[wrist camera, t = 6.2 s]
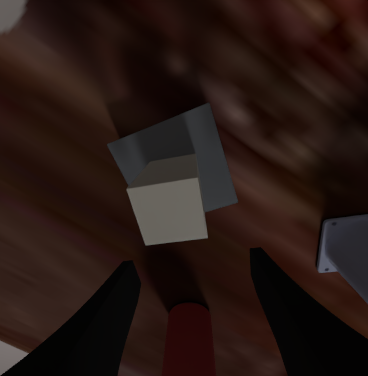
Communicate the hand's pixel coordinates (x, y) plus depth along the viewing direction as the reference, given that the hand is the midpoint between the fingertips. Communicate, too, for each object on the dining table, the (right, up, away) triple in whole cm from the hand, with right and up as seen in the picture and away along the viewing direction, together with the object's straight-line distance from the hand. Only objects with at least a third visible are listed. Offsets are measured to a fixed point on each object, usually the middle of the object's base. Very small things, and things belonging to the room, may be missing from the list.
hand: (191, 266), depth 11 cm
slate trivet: (-1, +7, +8) cm, 11 cm away
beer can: (0, -15, +17) cm, 23 cm away
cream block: (-1, +6, +5) cm, 8 cm away
